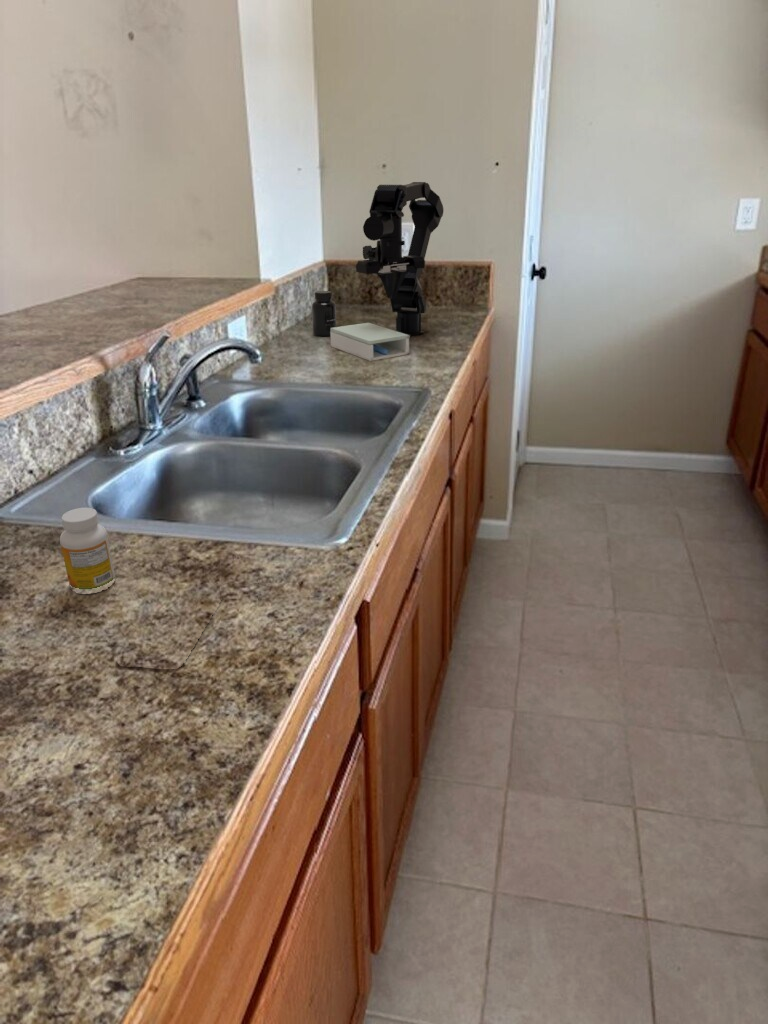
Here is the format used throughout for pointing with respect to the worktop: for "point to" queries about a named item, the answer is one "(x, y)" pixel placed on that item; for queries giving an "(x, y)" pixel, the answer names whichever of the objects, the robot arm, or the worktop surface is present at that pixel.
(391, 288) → the robot arm
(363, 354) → the cable duct
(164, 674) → the worktop surface
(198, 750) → the worktop surface
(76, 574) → the supplement bottle
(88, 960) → the worktop surface
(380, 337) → the duct cover
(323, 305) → the supplement bottle
